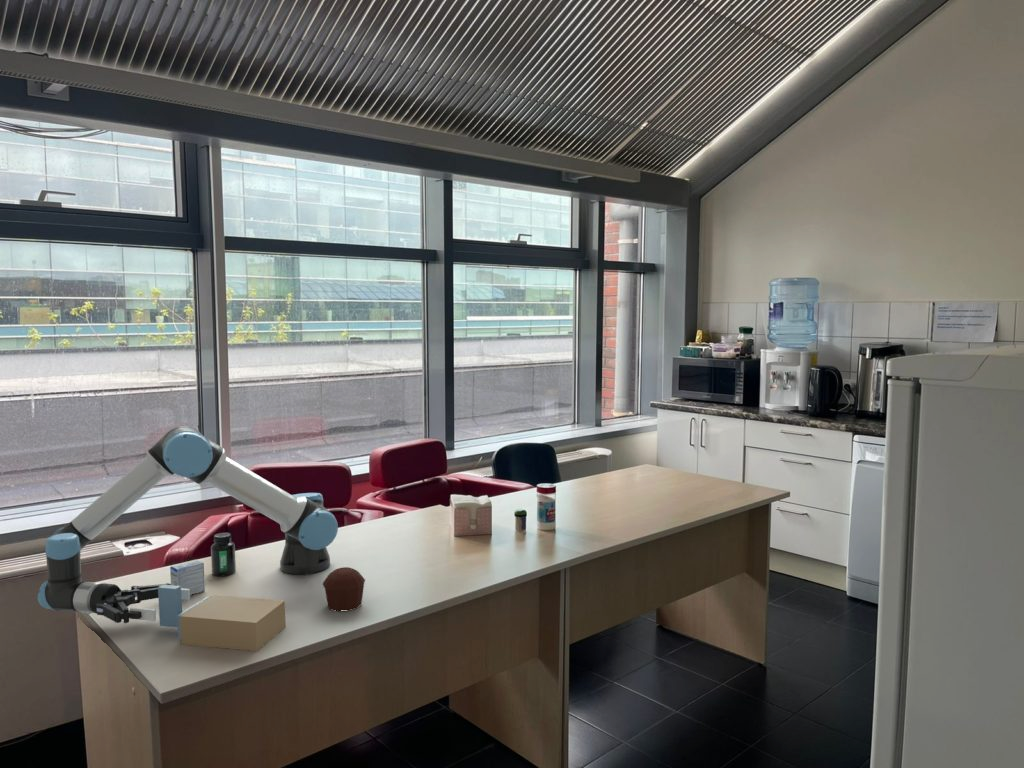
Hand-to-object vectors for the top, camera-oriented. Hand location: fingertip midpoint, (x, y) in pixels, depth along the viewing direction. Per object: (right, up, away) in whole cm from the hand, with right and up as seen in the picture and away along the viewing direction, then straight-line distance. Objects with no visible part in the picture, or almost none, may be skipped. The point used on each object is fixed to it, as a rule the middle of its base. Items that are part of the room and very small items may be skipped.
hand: (172, 604), depth 192 cm
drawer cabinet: (+16, -7, -2) cm, 18 cm away
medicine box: (-7, -5, +26) cm, 27 cm away
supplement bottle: (-3, -3, +43) cm, 43 cm away
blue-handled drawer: (+11, -6, -1) cm, 12 cm away
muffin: (+39, -5, +17) cm, 43 cm away
